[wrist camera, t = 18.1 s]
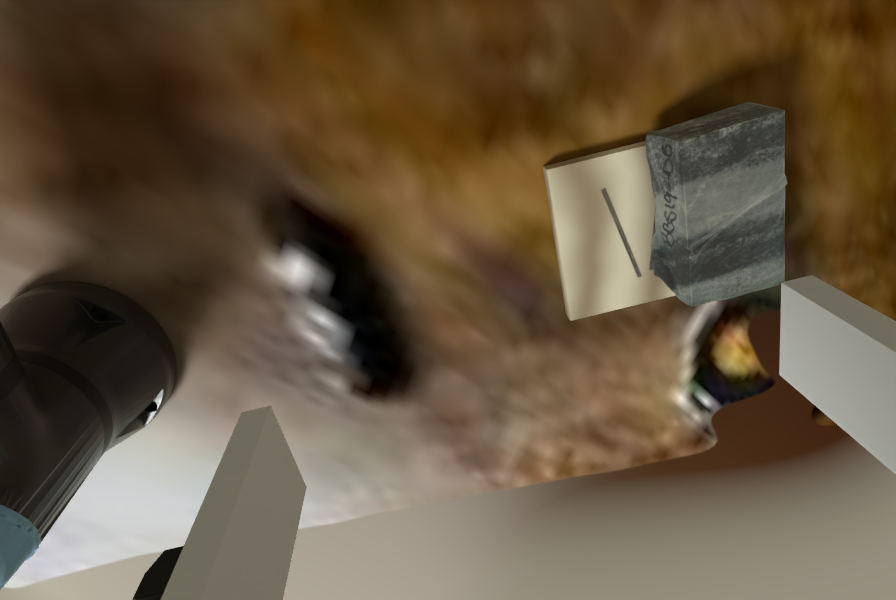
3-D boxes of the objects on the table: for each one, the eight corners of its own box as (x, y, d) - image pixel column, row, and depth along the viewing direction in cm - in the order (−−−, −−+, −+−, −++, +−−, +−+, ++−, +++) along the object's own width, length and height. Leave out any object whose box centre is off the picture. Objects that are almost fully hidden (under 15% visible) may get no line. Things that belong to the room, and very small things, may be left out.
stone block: (654, 291, 51) (679, 316, 46) (634, 131, 45) (661, 141, 40) (752, 264, 50) (788, 287, 46) (745, 100, 44) (786, 106, 40)
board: (566, 313, 53) (570, 320, 51) (542, 166, 47) (546, 170, 46) (745, 270, 52) (755, 276, 51) (744, 116, 46) (754, 118, 45)
